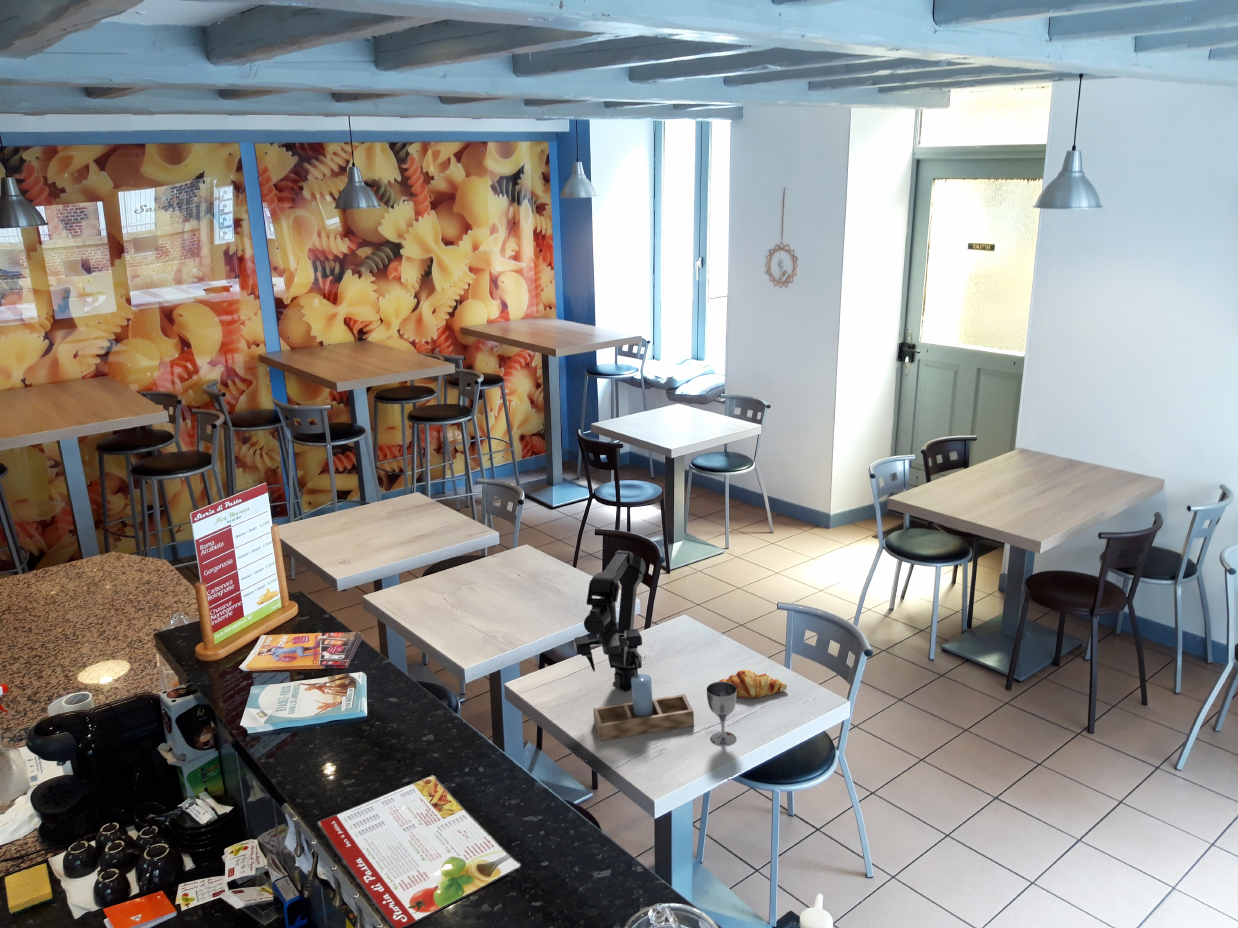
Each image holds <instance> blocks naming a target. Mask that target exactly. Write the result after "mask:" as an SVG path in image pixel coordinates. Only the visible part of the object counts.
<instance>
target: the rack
mask: <svg viewBox="0 0 1238 928" xmlns="http://www.w3.org/2000/svg"><path fill="white" fill-rule="evenodd" d="M652 701H653V716H647V717H641V718H634V714H633V701H632V702H626V703H619V704H618V703H617V704H615V705H614V704H613V705H607V706H602V707H601V706H600V707H594V708H592V709H593V722H594V726H595V729H596V733H597V735H598V738H599V741H606V740H612V739H613V740H614V739H620V738H625V737H626V738H627V737H632V736H637V735H645V734H649V733H656V732H661V731H669V730H675V729H681V728H687V727H692V726H695V719H694V718H695V716H694V709H693V707H692V706H691V703H690V702H689V700H688V698H687V696H686V694H685V693H684V694H683V693H682V694H677V695H670V696H666V697H665V696H664V697H659V698H652Z"/></svg>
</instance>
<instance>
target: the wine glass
mask: <svg viewBox="0 0 1238 928" xmlns="http://www.w3.org/2000/svg"><path fill="white" fill-rule="evenodd" d="M737 698H738V697H737V689H736V686H735V685H733V684H732V683H729V682H719V681H715V682H712V683H710V684H708V685H707V686H706V699H707V703H708V707H709V708H710V711H711V712H712V713H713V714H714V715H715V716H716V717H717V718H718V720H719V722H720V725H721V728H720V729H721V730H720V731H716V732H714V733H712V734H711V735H710V737H709V740H710V742H711V744H713V745H716V746H719V747H729V746H732V745H734V744H735V743H736V741H738V740H737V739H738V738H737V735H736V734H734V733H733V732H731V731H727V730H726V731H725V726H726V725H725V723H726V720H727V717H729V716H730V715H731V714H732V713H733V711H734V710H735V708H736V704H737Z"/></svg>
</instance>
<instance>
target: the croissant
mask: <svg viewBox="0 0 1238 928" xmlns="http://www.w3.org/2000/svg"><path fill="white" fill-rule="evenodd" d="M718 682H729V683H732V684H733V685H735V686H736V689H737V698H743V699H757V698H761V697H764V696H771V695H773V694H775V693H776V694H777V693H782V692H784V691H785V690H787V688H788V685H787V684H786V683H784V682H783V681H781V680H780V679H779V678H776V679H775V678H773V677H771V676H770V675H768V674H767V673H762V674H757V673H756V672H755V671H754V670H751V669H741V670H738V671H737V673H736V674H731V675H729V676H728V678H722V679H720V680H718Z"/></svg>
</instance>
